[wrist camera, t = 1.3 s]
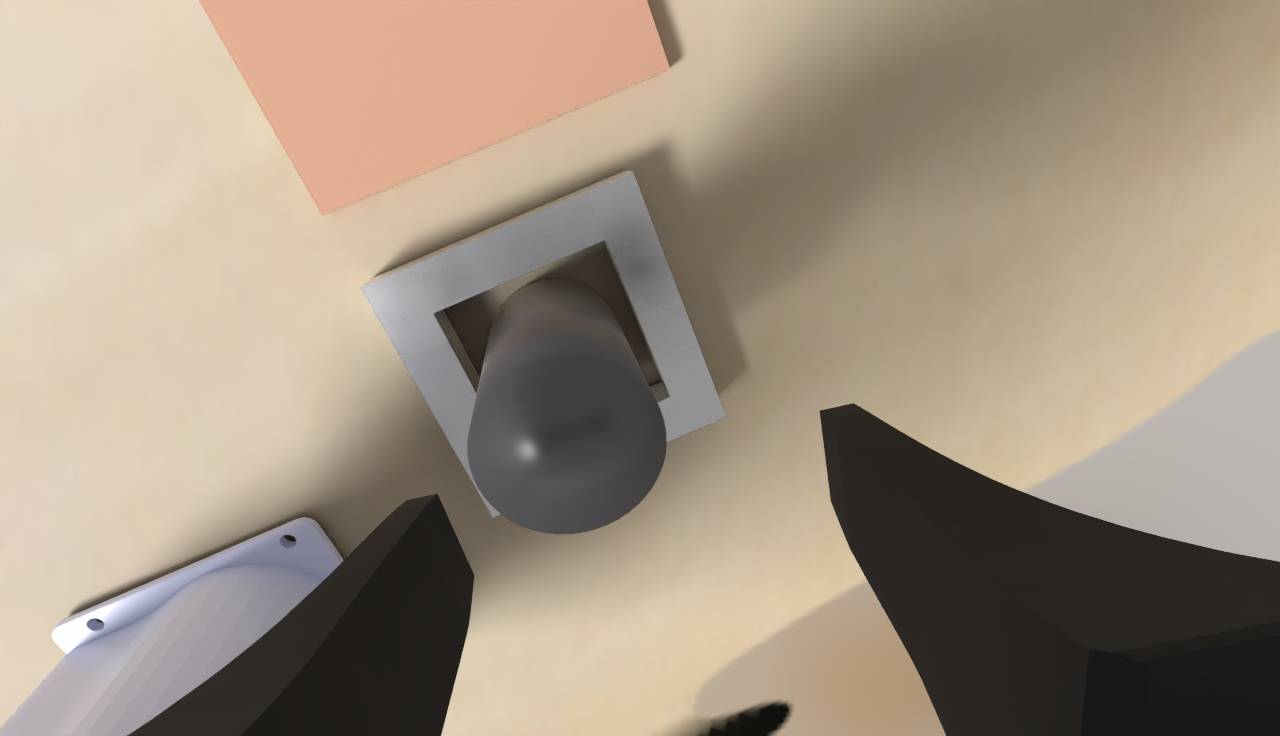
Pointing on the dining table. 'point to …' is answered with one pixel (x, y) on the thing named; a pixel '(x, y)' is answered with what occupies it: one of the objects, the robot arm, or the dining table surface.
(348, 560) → the robot arm
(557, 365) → the plug
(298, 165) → the tile
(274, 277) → the dining table surface
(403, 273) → the socket collar
